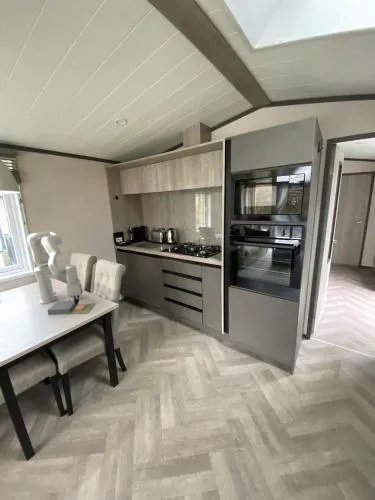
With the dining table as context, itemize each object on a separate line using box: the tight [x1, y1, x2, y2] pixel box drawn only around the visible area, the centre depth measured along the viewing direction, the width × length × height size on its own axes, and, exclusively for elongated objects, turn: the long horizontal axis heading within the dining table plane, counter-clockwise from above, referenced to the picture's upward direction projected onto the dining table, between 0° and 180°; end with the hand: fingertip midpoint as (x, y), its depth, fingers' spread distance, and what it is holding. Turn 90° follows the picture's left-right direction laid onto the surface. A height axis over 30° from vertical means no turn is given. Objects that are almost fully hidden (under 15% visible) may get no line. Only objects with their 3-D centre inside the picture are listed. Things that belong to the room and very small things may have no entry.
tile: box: [75, 302, 88, 311], centre depth 172 cm, size 8×6×2 cm
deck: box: [46, 300, 79, 316], centre depth 172 cm, size 14×16×4 cm
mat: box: [68, 302, 96, 315], centre depth 172 cm, size 16×14×1 cm
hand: (76, 303), depth 171 cm, fingers closed
